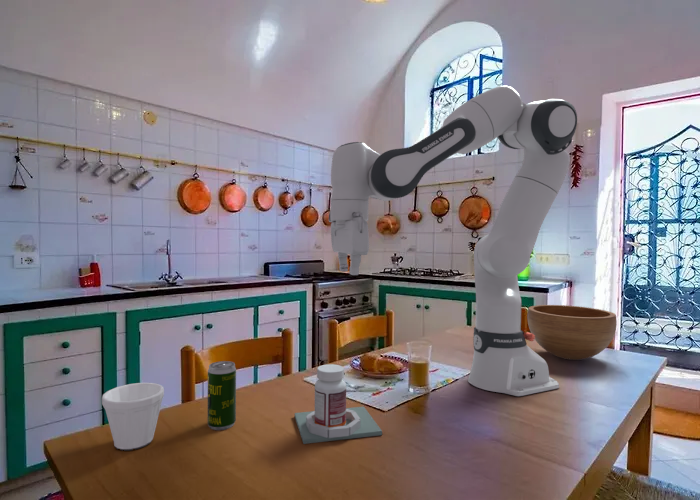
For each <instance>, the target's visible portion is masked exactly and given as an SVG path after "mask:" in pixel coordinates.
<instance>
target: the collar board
mask: <svg viewBox="0 0 700 500" xmlns="http://www.w3.org/2000/svg"><path fill="white" fill-rule="evenodd" d="M314 416H315V410H311V411H303V412H294V419H295V422H296V425H297V429H298V432H299V434H300V438H301V440H302V443H303V445H307V444H314V443H323V442H333V441H341V440H349V439H359V438H366V437H367V438H369V437H376V436H382V435H383V430H382V429H381V427H380V426H379V424H377V422H376V421H375V420H374V418H373V417H372V415H371V414H370V413H369V412H368V410H367V408H365V406H357V407H356V406H355V407H354V406H353V407H346V425H345V426H338V427H326V426H322V425H319V424H315V422H314Z"/></svg>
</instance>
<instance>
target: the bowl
mask: <svg viewBox="0 0 700 500" xmlns="http://www.w3.org/2000/svg"><path fill="white" fill-rule="evenodd" d="M527 324H528V328H529V331H530V333H533V334H534V335H535V336H534V337H535V339H534V341H536V342H537V345H539V346H540V347H541V348H542V349H544V351H546V352H547V353H549V354H551V355H553V356H555V357H558V358H561V359H566V360H570V361H571V360H572V361H575V360H576V361H577V360H585V359H590V358H592V357H594V356H596V355H599V354H600V353H602V352H603V351H604V350H605V349H607V347H608V346H609V345H610V344H611V342H612V341H613V339H614V337H615V334H616V330H617V315H616V313H614V312H612V311H608V310H605V309H599V308H593V307H587V306H586V307H585V306H577V305H563V304H561V305H560V304H538V305H537V304H536V305H532V306H531V305H530V306H529V307H528V309H527Z"/></svg>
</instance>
